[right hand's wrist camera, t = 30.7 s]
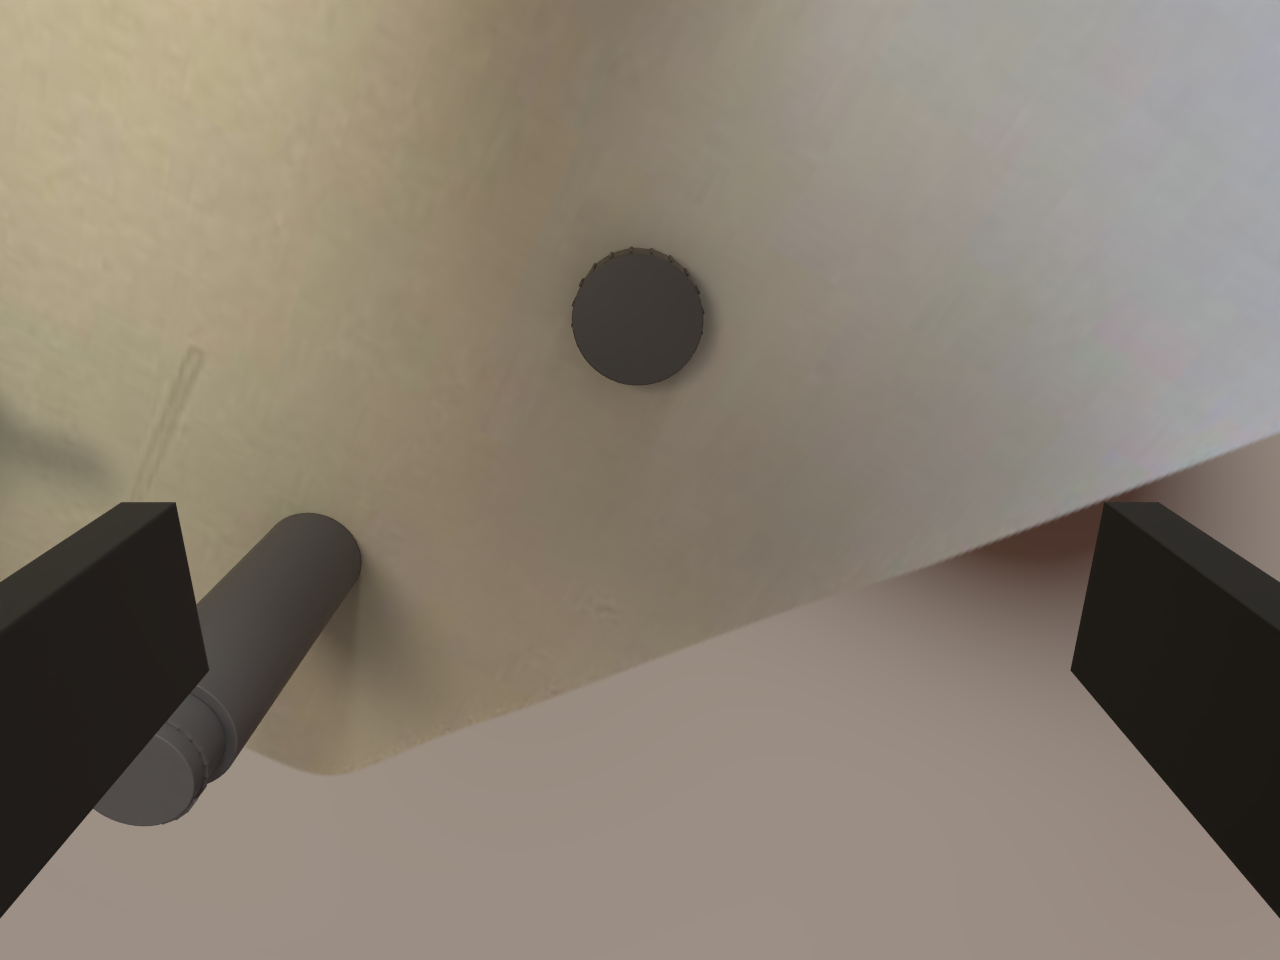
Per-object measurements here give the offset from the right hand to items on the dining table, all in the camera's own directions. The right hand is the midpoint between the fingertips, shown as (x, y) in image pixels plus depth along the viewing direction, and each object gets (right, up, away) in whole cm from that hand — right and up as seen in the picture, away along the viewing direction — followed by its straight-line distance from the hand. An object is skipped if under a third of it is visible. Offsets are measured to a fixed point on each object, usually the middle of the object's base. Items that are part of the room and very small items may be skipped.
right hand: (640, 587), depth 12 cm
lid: (0, +8, +23) cm, 24 cm away
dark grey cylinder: (-16, -2, +29) cm, 33 cm away
